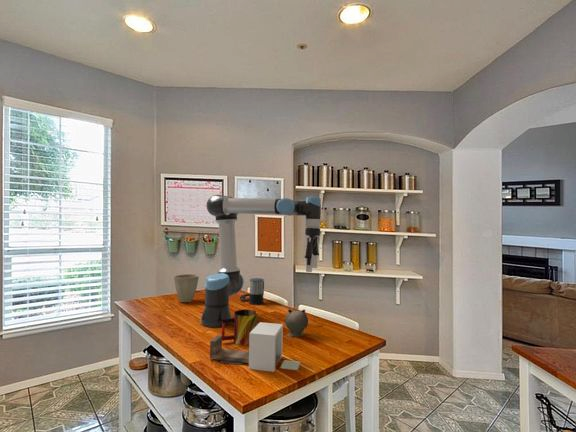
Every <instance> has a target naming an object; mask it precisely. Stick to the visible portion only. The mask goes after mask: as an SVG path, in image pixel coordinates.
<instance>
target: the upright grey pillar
mask: <svg viewBox="0 0 576 432" xmlns="http://www.w3.org/2000/svg"><path fill="white" fill-rule="evenodd" d="M283 328H284V324H283V323H273V322H272V323H271V322H260V321H259V323H257V326H256V327H255V328H254V329H253V330H252V331H251V332H250V333H249V345H248V352H249V363H248V369H249V370H255V371H256V370H257V371H264V372H271V373H272V372H273V373H274V372H275V371H276V366H275V353H276V355H280V360H282V358H283V337H284V336H283V335H284V334H283V333H284V331H283V330H284V329H283Z"/></svg>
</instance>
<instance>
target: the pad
mask: <svg viewBox="0 0 576 432" xmlns="http://www.w3.org/2000/svg"><path fill="white" fill-rule="evenodd" d="M300 366H301V361H297V360H296V361H295V360H289V359H288V360H287V359H286V360H285V359H284V360H283V361H282V363H281V366H280V367H279V368H280V369H283V370H290V371H291V370H293V371H298V370H299V368H300Z"/></svg>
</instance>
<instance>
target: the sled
mask: <svg viewBox="0 0 576 432" xmlns="http://www.w3.org/2000/svg"><path fill="white" fill-rule="evenodd" d="M209 343H210V344H209V359H210V360H211V359H212V360H218V361H221V360H226V361H235V362H243V364H244V363H245V364H249V351H246V350H244V351H243V350H234V349H228V348H223V341H222V334H221V335H220V334H219V335H218V334H217V335H215V337H213V338H212V339H210V340H209ZM280 360H281V359H280V355H276V353H275V367H277V366H278V364H279V362H280Z"/></svg>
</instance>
